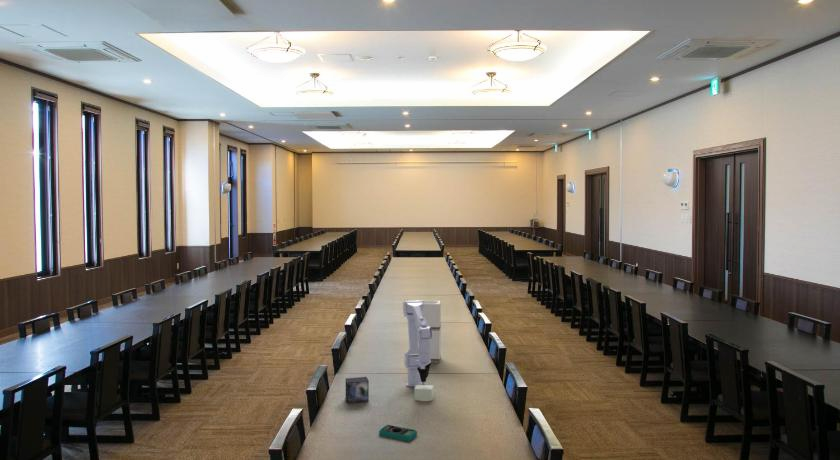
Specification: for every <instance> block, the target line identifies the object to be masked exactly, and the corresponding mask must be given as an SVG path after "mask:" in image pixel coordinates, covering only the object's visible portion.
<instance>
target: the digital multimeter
mask: <svg viewBox="0 0 840 460" xmlns="http://www.w3.org/2000/svg"><path fill="white" fill-rule="evenodd" d="M378 435H380V436H381V437H384V436H386V437H385V438H391V439H396V440H400V441H404V442H411V441H412V440H414V439H415V438H416V437H417V436H418V431H417V430H416V429H411V428H407V427H400V426H397V425H396V426H395V425H393V424H392V425H391V424H385V425H384V426H382V427H381V428H380V429H379V430H378Z"/></svg>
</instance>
